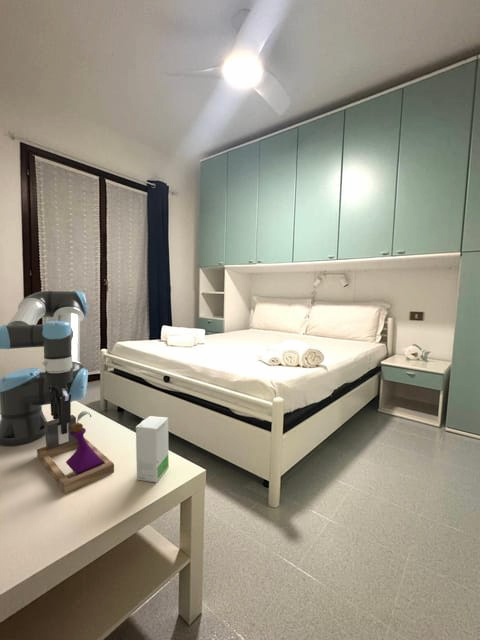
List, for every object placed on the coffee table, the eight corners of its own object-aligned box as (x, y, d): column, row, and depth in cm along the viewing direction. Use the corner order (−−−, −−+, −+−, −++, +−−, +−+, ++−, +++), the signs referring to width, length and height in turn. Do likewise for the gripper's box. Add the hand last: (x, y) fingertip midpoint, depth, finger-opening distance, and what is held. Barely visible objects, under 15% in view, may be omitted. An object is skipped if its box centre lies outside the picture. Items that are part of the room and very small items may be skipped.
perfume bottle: (75, 484, 81) (73, 420, 79) (66, 472, 86) (63, 412, 84) (103, 472, 86) (101, 412, 84) (92, 461, 91) (91, 405, 89)
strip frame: (37, 456, 93) (35, 424, 92) (81, 441, 103) (80, 412, 102) (64, 493, 77) (63, 455, 76) (114, 471, 87) (113, 437, 85)
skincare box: (156, 483, 82) (156, 429, 80) (134, 480, 83) (133, 426, 81) (169, 466, 90) (169, 416, 88) (149, 463, 91) (149, 414, 90)
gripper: (37, 367, 97) (40, 435, 99) (53, 378, 86) (57, 454, 89) (62, 363, 102) (65, 428, 105) (81, 372, 92) (83, 445, 94)
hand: (61, 440), depth 97 cm, fingers closed on strip frame, 3 cm apart
